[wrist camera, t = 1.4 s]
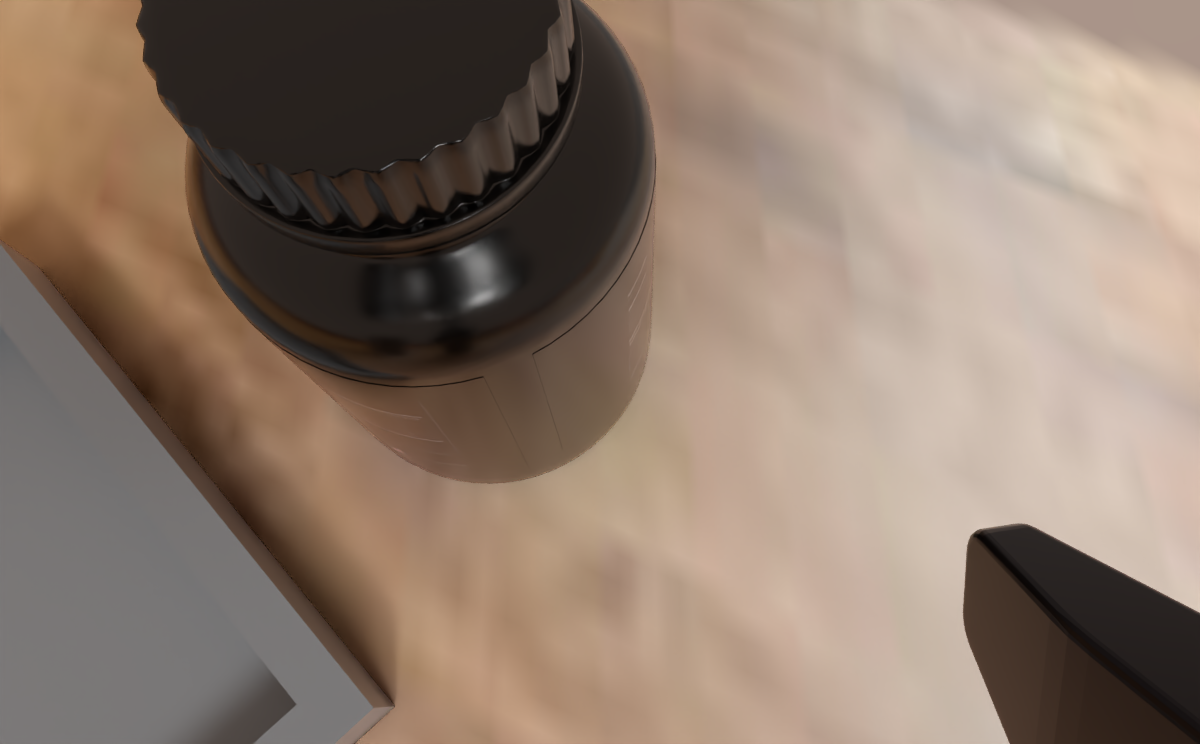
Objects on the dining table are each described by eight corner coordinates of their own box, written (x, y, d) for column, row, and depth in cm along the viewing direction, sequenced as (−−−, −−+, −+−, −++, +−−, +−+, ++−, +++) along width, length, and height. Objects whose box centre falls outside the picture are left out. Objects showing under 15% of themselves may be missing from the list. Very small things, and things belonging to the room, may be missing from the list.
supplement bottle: (471, 148, 24) (330, -352, 12) (709, 307, 22) (799, -87, 11) (276, 372, 22) (-91, 37, 11) (520, 557, 21) (395, 400, 9)
